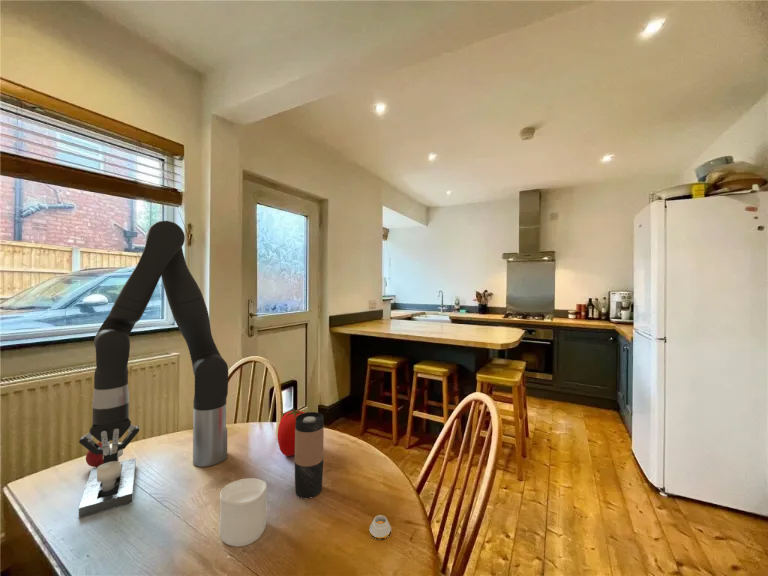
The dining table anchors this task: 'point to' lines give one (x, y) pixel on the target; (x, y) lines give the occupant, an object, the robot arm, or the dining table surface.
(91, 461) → the onion
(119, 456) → the knob far
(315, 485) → the travel mug
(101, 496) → the mount panel
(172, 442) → the dining table surface
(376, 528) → the lidless jar
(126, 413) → the robot arm
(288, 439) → the tomato
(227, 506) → the cup
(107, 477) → the knob near
